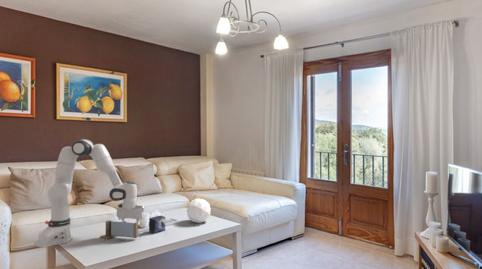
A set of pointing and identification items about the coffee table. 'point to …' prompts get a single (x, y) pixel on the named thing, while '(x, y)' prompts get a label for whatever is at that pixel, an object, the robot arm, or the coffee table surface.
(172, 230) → the coffee table surface
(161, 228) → the small box
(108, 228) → the gate post
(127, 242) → the coffee table surface
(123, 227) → the gate
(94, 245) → the coffee table surface
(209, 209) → the geometric orb
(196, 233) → the coffee table surface
